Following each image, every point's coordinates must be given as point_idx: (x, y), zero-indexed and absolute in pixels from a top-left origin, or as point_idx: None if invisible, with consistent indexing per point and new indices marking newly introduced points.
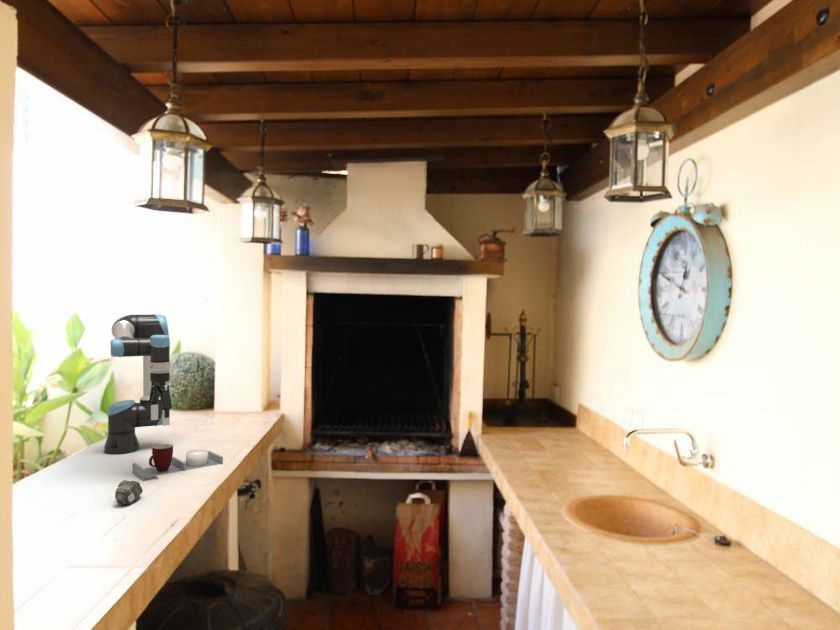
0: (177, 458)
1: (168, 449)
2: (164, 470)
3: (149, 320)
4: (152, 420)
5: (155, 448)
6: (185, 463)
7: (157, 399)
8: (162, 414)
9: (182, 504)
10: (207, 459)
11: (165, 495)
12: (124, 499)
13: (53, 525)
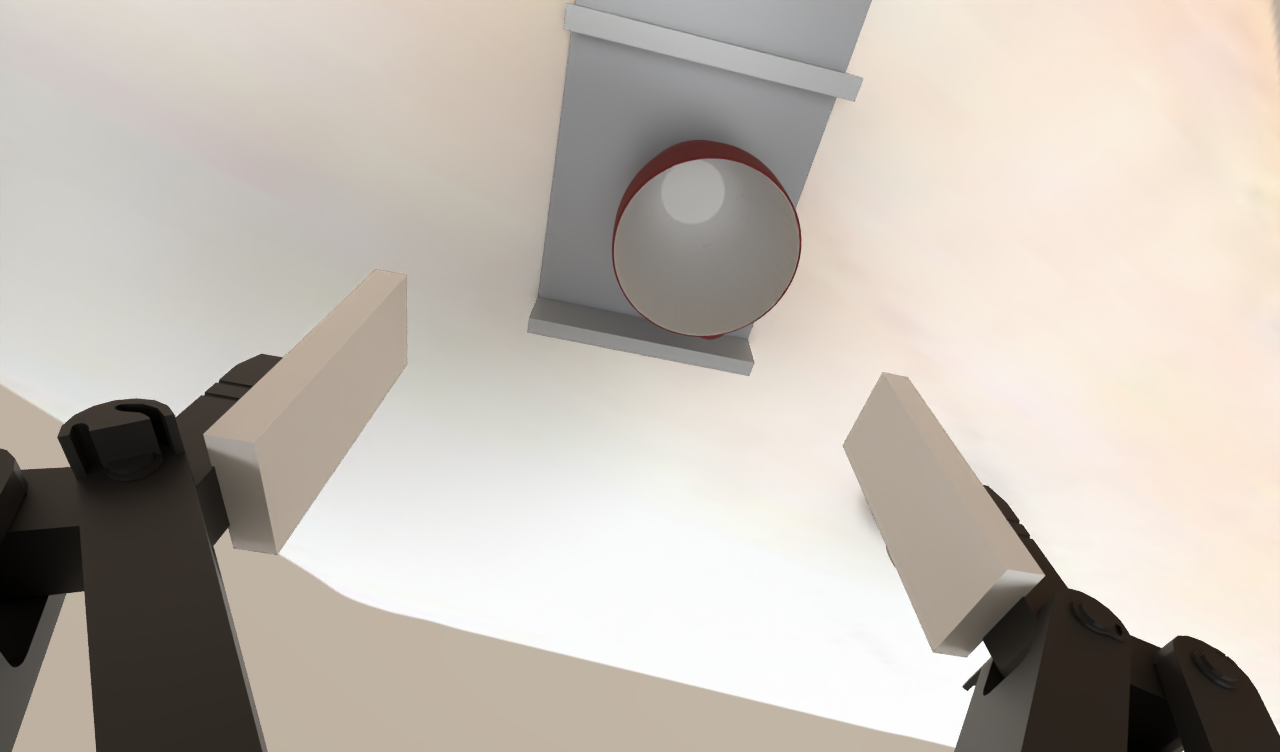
0: (664, 28)
1: (797, 247)
2: (728, 201)
3: None
4: None
5: (620, 265)
6: (860, 85)
7: (224, 604)
8: (904, 574)
9: (1228, 430)
10: None
11: (1051, 405)
12: None
13: (902, 688)
